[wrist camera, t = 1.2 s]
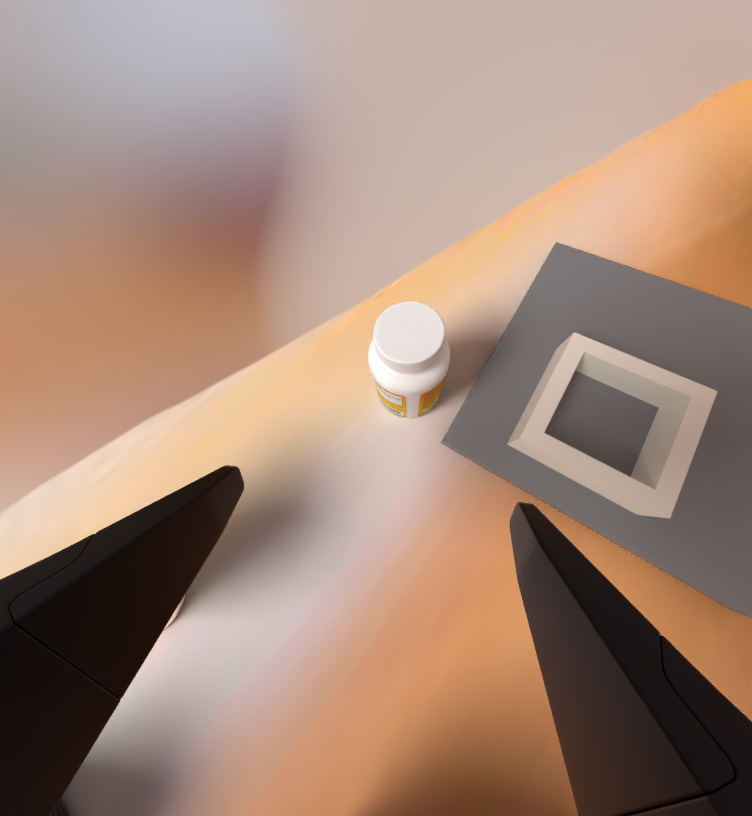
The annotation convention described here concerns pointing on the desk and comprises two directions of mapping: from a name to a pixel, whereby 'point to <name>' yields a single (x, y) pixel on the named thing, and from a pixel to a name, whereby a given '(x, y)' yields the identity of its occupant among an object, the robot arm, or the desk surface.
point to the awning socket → (626, 416)
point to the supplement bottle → (409, 358)
